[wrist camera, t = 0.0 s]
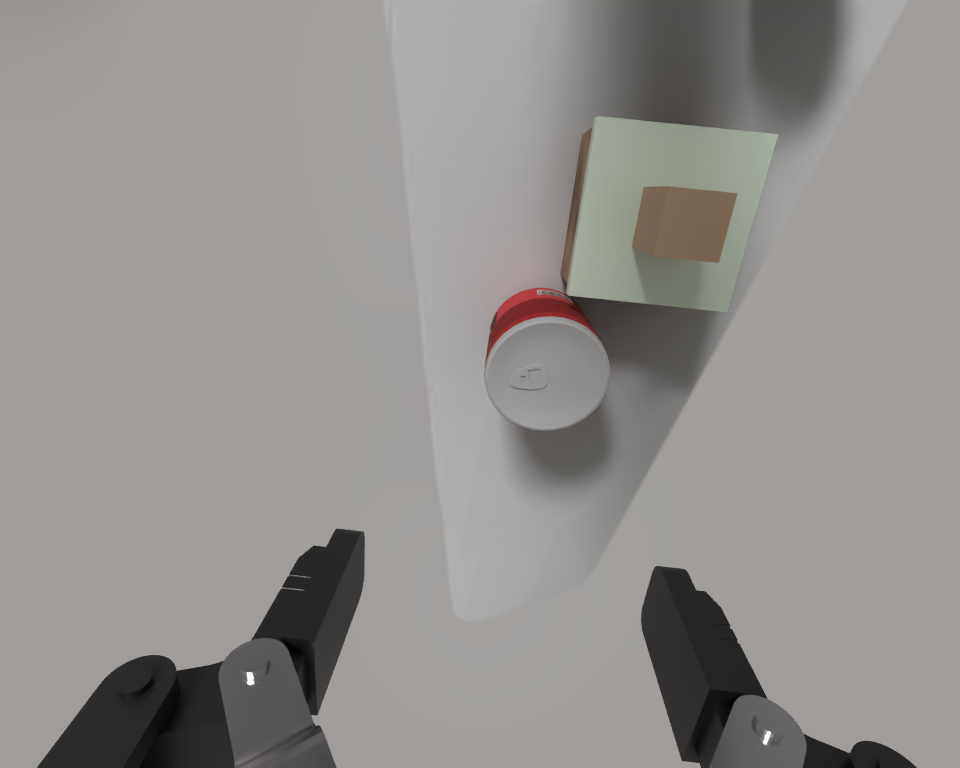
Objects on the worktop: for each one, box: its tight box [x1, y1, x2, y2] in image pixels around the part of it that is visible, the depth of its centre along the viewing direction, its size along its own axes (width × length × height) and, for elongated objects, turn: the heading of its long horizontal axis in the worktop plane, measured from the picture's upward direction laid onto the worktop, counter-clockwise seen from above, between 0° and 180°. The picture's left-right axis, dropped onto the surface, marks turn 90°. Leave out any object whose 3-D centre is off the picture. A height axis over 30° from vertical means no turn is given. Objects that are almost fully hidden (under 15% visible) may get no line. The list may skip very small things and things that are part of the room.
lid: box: [566, 116, 778, 312], centre depth 28 cm, size 10×10×6 cm
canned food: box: [484, 288, 610, 431], centre depth 36 cm, size 8×8×11 cm
